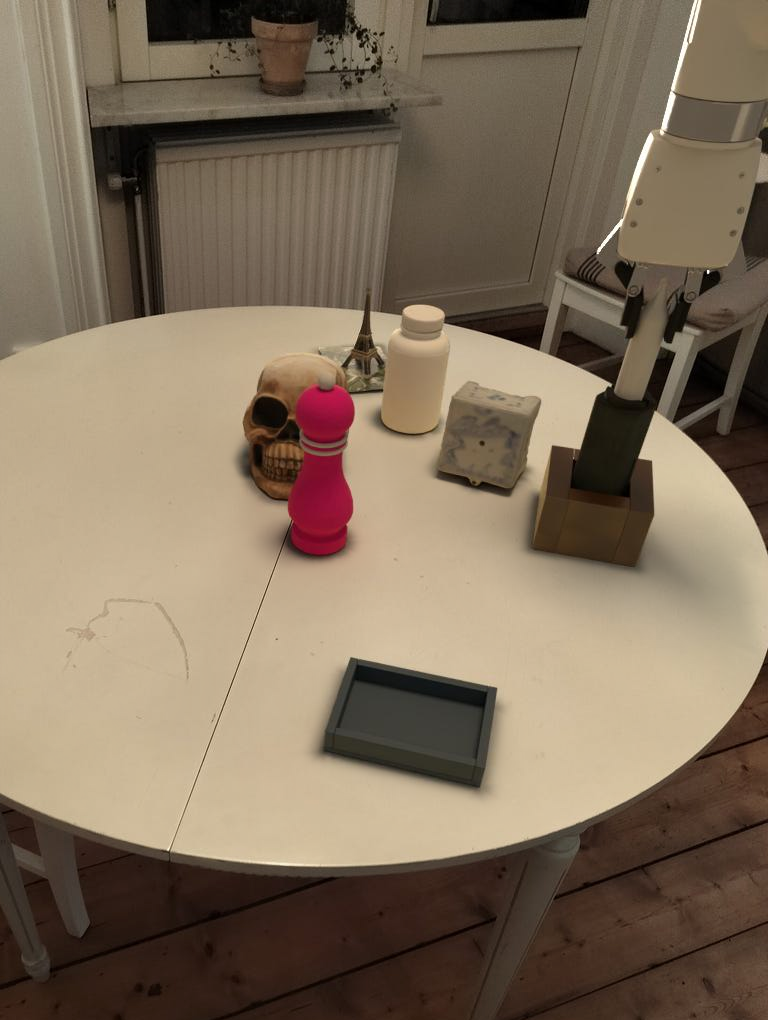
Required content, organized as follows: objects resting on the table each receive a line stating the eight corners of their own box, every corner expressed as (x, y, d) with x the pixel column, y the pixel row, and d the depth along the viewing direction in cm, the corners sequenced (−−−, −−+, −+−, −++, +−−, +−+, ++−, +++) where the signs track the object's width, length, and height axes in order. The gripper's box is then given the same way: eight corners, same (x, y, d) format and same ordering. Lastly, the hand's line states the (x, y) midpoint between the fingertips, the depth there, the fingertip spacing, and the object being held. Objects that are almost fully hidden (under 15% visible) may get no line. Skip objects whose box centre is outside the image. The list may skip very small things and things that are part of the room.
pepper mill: (278, 527, 99) (279, 362, 85) (335, 515, 101) (346, 352, 87) (300, 564, 94) (306, 395, 80) (361, 550, 96) (376, 383, 82)
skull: (276, 505, 102) (274, 395, 94) (216, 451, 114) (210, 350, 106) (387, 477, 108) (394, 372, 100) (318, 429, 120) (320, 332, 112)
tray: (492, 706, 79) (497, 687, 77) (480, 787, 72) (485, 768, 71) (348, 675, 82) (350, 656, 80) (323, 750, 75) (324, 731, 73)
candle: (598, 521, 94) (675, 293, 77) (560, 500, 97) (626, 276, 80) (625, 504, 97) (705, 280, 80) (587, 485, 100) (657, 264, 82)
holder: (634, 511, 102) (652, 460, 98) (635, 567, 95) (654, 514, 90) (539, 495, 105) (552, 444, 100) (531, 548, 97) (545, 496, 92)
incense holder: (527, 465, 110) (545, 389, 103) (510, 498, 104) (528, 420, 97) (454, 447, 113) (466, 372, 106) (433, 477, 107) (445, 401, 100)
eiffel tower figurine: (316, 350, 133) (320, 261, 124) (379, 346, 135) (388, 258, 126) (336, 395, 123) (341, 302, 114) (405, 391, 124) (415, 298, 115)
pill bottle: (448, 416, 119) (465, 308, 108) (423, 441, 114) (438, 330, 103) (396, 401, 122) (408, 295, 111) (370, 425, 117) (379, 315, 106)
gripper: (811, 116, 72) (733, 330, 85) (610, 103, 75) (563, 311, 88) (826, 137, 67) (740, 362, 79) (609, 122, 70) (559, 341, 83)
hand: (648, 334), depth 83 cm, fingers closed on candle, 3 cm apart
